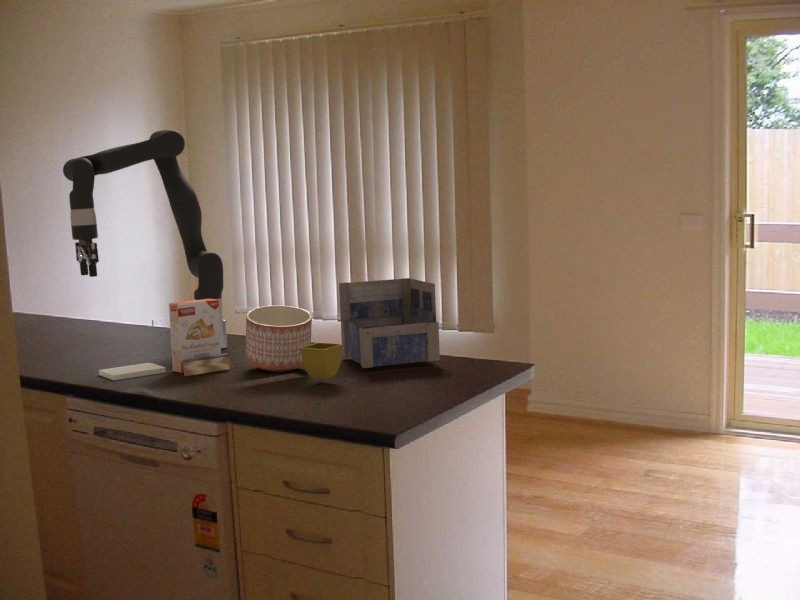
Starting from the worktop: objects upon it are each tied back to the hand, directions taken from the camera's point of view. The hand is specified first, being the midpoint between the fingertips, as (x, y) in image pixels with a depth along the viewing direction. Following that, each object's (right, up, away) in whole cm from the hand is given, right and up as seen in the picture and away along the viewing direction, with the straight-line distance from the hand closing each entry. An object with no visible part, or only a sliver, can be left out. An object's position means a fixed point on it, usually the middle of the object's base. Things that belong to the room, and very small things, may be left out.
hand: (89, 275), depth 293 cm
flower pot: (+75, -29, -28) cm, 85 cm away
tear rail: (+39, -29, -13) cm, 51 cm away
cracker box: (+36, -29, -8) cm, 46 cm away
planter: (+60, -26, -10) cm, 66 cm away
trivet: (+17, -30, -11) cm, 36 cm away
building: (+93, -26, -1) cm, 97 cm away
